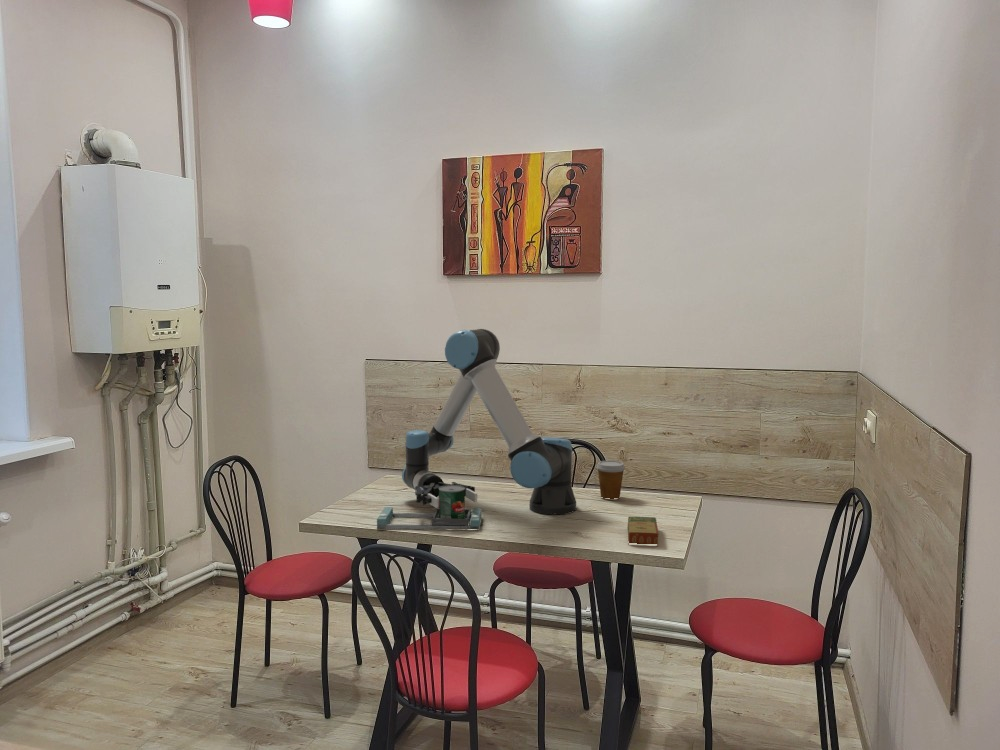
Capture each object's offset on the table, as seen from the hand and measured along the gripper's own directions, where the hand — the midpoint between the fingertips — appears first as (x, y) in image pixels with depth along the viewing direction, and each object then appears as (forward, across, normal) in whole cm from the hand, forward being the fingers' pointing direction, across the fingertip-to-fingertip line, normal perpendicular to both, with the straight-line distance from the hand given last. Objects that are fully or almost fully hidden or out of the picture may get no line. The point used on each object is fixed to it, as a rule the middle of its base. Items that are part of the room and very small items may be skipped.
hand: (456, 500), depth 227 cm
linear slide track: (-7, +6, -8) cm, 12 cm away
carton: (+33, -43, -9) cm, 55 cm away
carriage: (-4, 0, -7) cm, 7 cm away
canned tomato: (-4, 0, -8) cm, 9 cm away
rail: (-7, +6, -8) cm, 12 cm away
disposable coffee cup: (-6, -60, -8) cm, 61 cm away
